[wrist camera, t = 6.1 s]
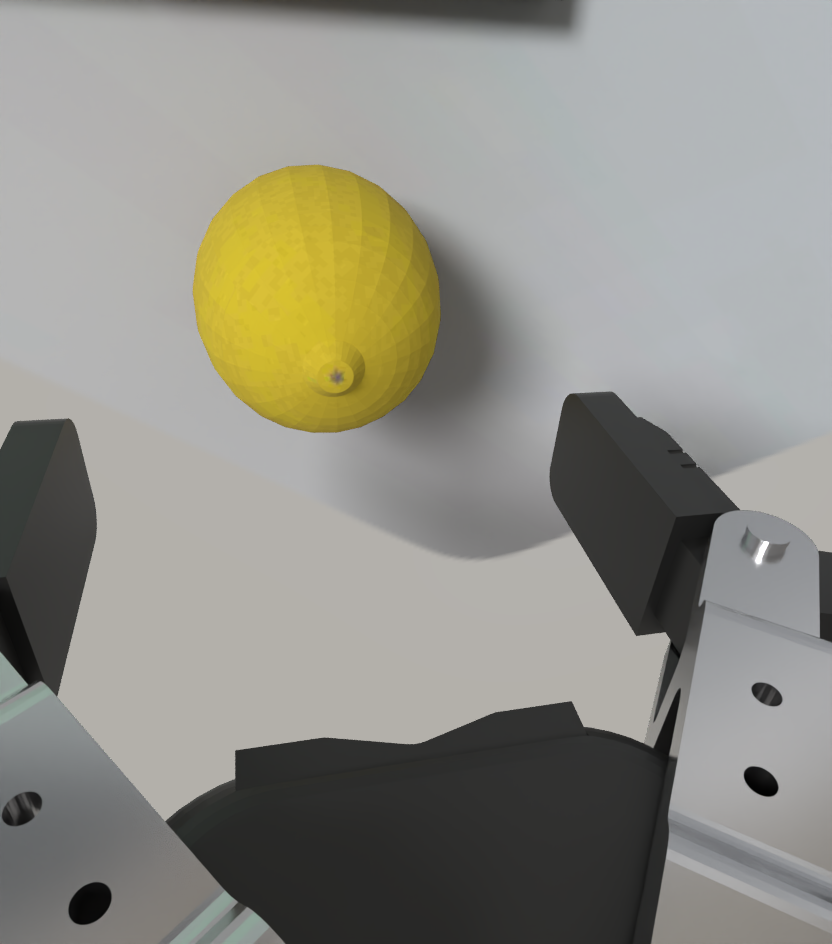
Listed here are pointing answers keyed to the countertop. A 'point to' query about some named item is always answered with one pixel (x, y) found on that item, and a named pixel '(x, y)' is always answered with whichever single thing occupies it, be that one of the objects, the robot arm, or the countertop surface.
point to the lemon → (317, 298)
